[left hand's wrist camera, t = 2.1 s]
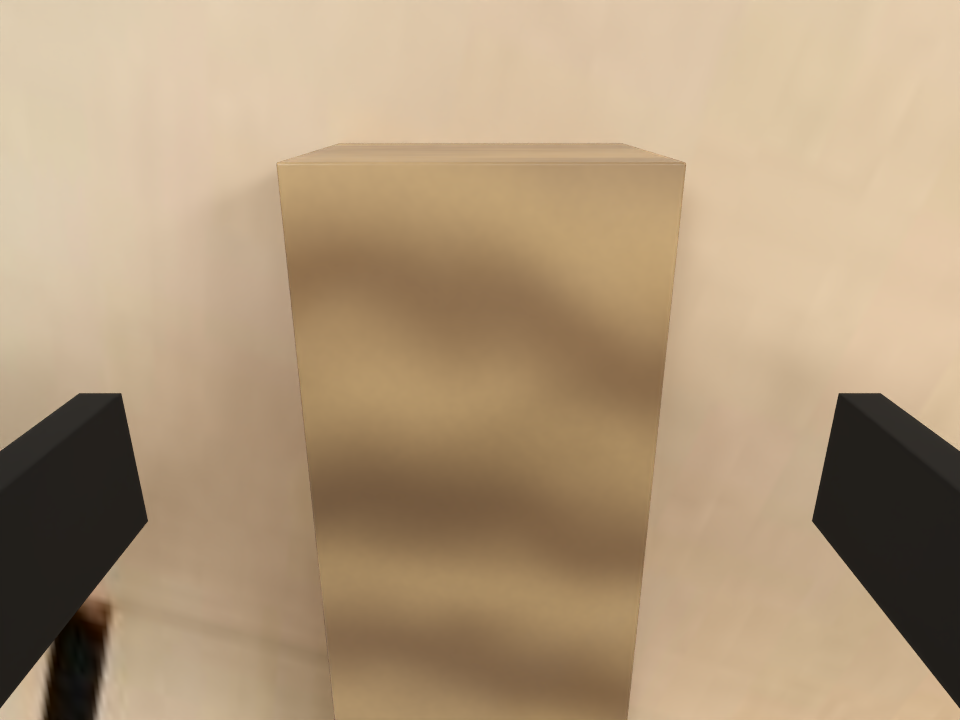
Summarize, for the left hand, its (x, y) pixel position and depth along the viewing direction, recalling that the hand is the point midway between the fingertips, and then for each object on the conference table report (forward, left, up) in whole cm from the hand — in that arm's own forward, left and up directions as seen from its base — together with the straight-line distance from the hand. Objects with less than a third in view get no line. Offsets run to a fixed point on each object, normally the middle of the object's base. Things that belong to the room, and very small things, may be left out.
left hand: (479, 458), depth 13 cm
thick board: (+24, -17, -13) cm, 32 cm away
